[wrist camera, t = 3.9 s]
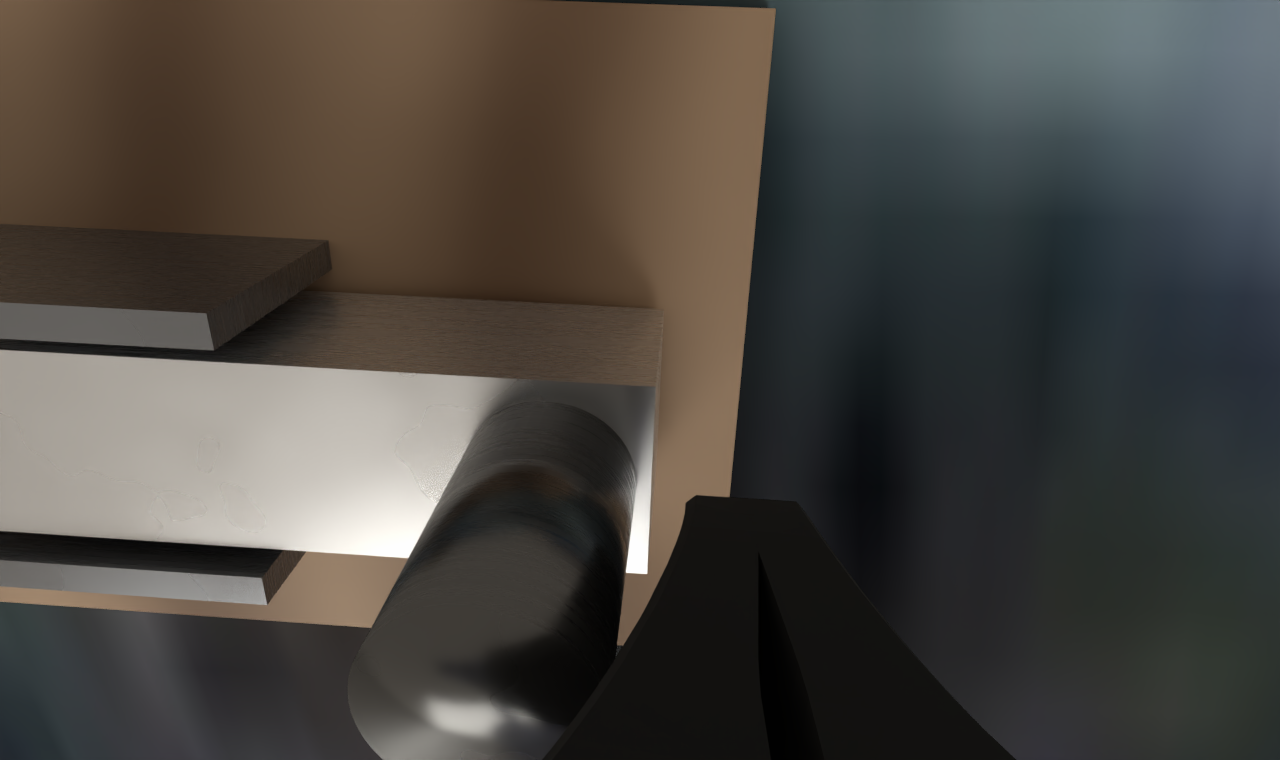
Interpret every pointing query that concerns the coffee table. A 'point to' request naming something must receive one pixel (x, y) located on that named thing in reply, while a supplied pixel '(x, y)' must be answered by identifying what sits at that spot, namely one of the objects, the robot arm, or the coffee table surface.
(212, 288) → the channel
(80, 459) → the bolt
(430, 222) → the guide board
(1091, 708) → the coffee table surface
